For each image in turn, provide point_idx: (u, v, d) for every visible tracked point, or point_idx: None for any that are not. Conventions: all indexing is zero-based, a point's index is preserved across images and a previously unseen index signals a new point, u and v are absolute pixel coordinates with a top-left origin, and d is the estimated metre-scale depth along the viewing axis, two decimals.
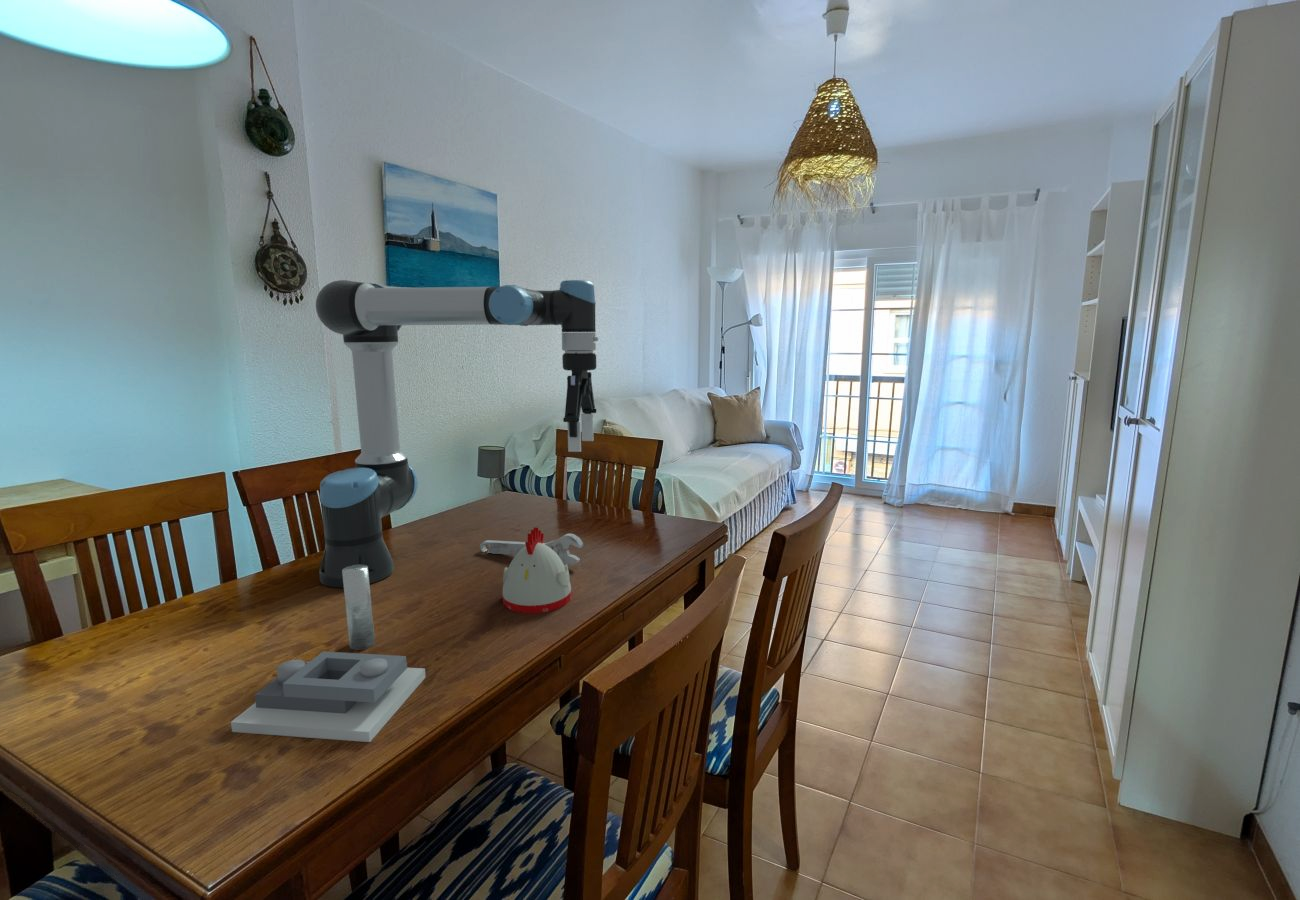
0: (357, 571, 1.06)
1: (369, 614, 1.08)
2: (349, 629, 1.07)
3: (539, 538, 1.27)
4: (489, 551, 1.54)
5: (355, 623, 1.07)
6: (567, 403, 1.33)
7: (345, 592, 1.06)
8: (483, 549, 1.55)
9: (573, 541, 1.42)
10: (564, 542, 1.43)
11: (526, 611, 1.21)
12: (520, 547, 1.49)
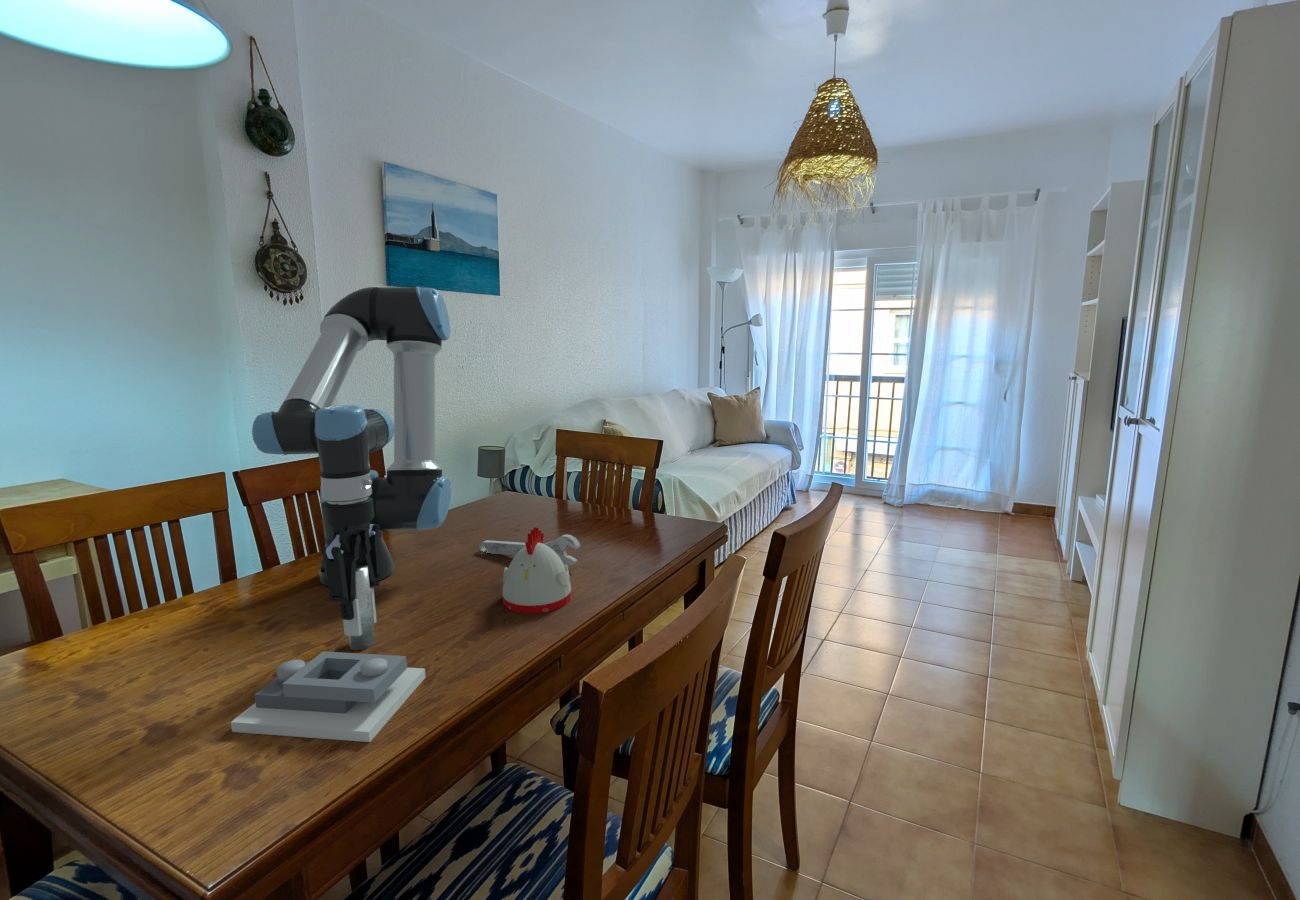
0: (357, 571, 1.06)
1: (369, 613, 1.08)
2: None
3: (539, 538, 1.27)
4: (488, 551, 1.54)
5: None
6: (330, 583, 1.01)
7: None
8: (482, 549, 1.56)
9: (570, 542, 1.41)
10: (561, 543, 1.42)
11: (526, 611, 1.21)
12: (518, 547, 1.49)
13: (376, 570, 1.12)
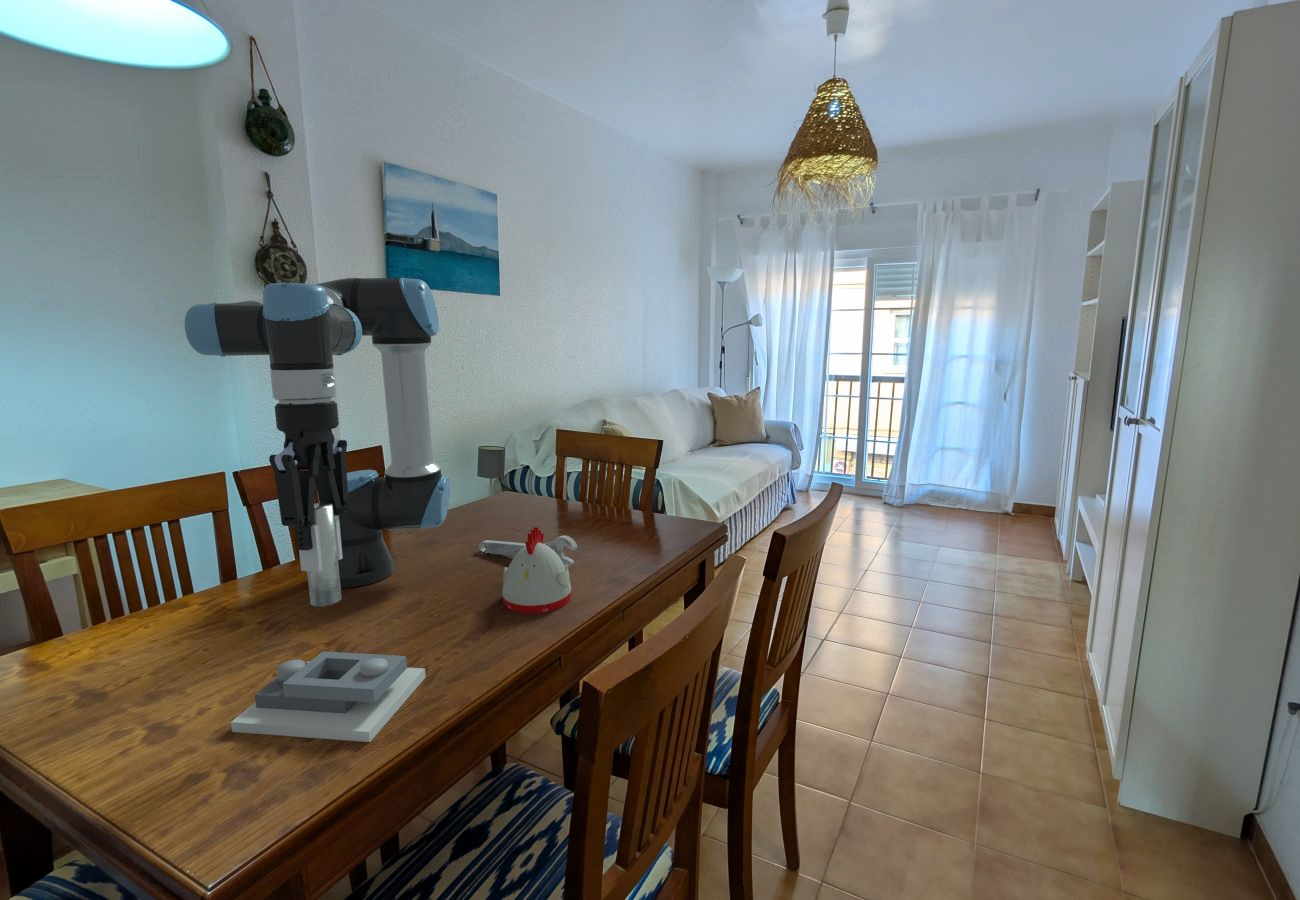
0: (318, 508, 0.86)
1: (333, 562, 0.89)
2: (309, 581, 0.88)
3: (539, 538, 1.27)
4: (487, 551, 1.54)
5: (316, 573, 0.87)
6: (281, 501, 0.82)
7: None
8: (482, 549, 1.56)
9: (567, 543, 1.40)
10: (559, 544, 1.42)
11: (525, 611, 1.21)
12: (517, 548, 1.49)
13: (342, 495, 0.92)
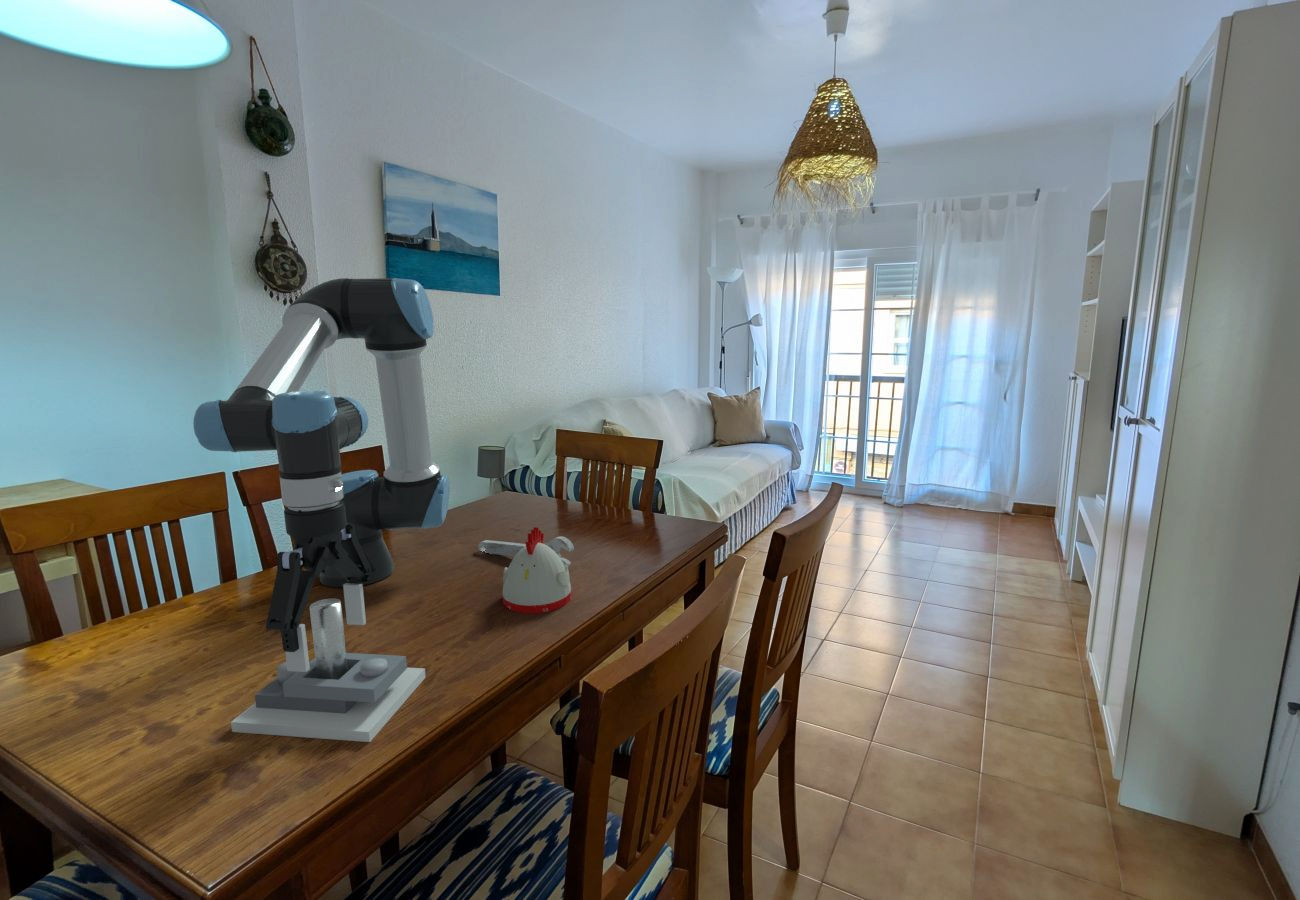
0: (327, 608, 0.88)
1: (342, 657, 0.90)
2: (318, 676, 0.90)
3: (539, 538, 1.27)
4: (486, 551, 1.54)
5: (325, 670, 0.89)
6: (273, 601, 0.80)
7: (313, 633, 0.89)
8: (481, 549, 1.56)
9: (563, 544, 1.40)
10: (555, 545, 1.41)
11: (526, 611, 1.21)
12: (515, 548, 1.49)
13: (364, 567, 0.97)
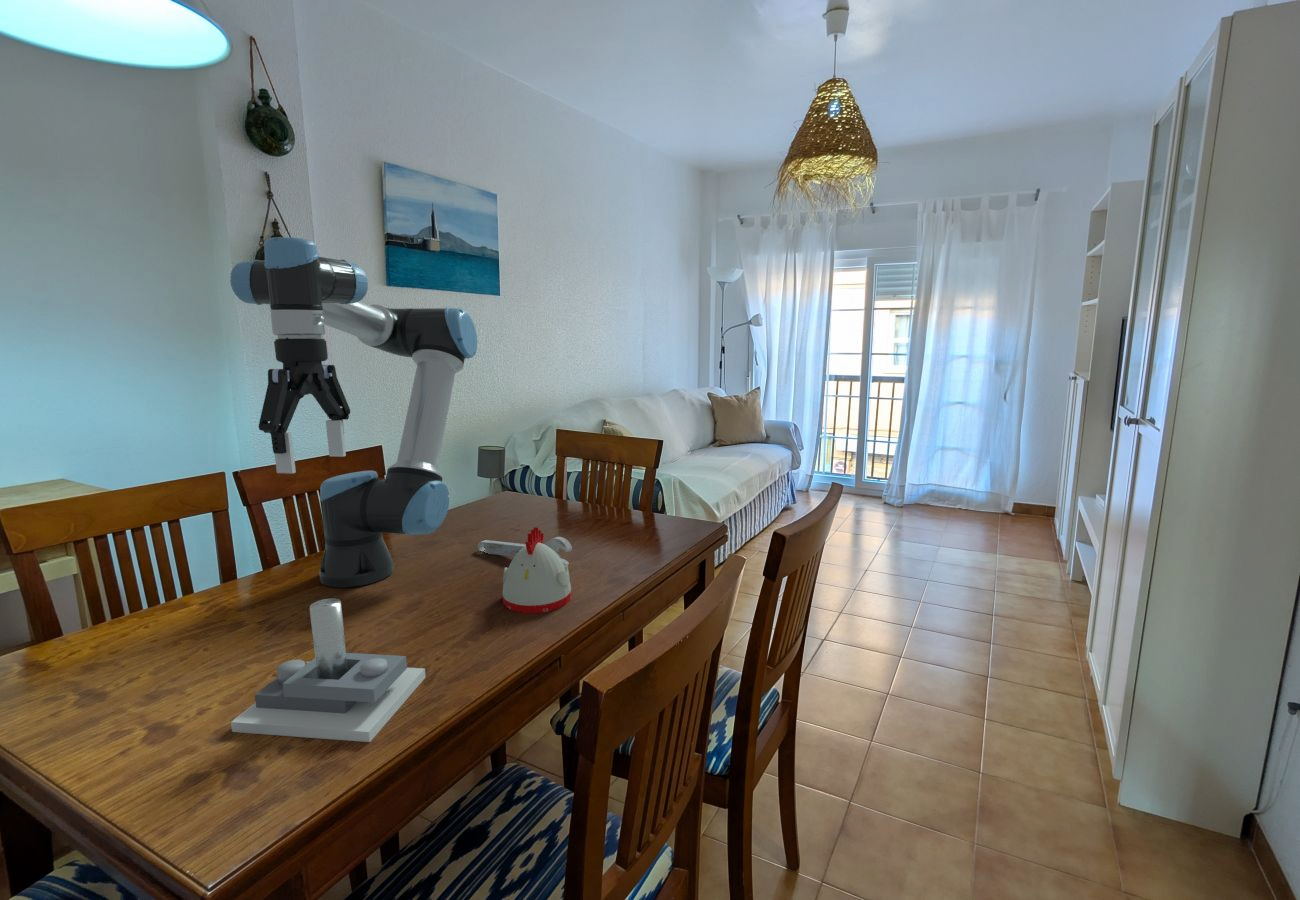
0: (327, 608, 0.88)
1: (342, 657, 0.90)
2: (318, 676, 0.90)
3: (539, 538, 1.27)
4: (486, 551, 1.54)
5: (325, 670, 0.89)
6: (264, 407, 0.96)
7: (313, 633, 0.89)
8: (481, 549, 1.56)
9: (561, 545, 1.39)
10: (554, 545, 1.41)
11: (526, 611, 1.21)
12: (513, 548, 1.49)
13: (344, 408, 1.13)
